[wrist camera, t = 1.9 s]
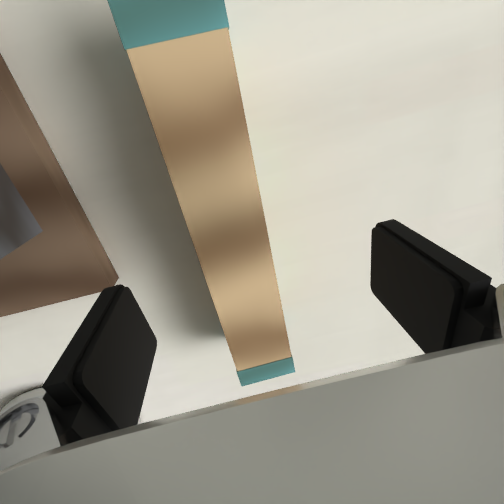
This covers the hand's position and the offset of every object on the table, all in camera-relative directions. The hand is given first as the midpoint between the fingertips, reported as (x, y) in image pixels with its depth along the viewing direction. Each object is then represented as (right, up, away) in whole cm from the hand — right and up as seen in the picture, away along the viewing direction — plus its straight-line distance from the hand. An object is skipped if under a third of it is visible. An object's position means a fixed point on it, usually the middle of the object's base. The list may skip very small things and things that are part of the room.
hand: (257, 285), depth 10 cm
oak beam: (-2, +4, +9) cm, 10 cm away
